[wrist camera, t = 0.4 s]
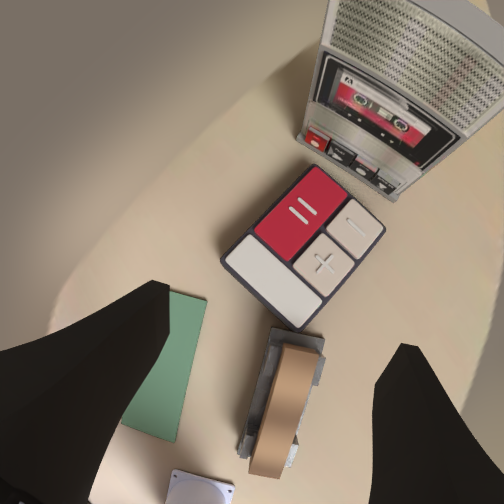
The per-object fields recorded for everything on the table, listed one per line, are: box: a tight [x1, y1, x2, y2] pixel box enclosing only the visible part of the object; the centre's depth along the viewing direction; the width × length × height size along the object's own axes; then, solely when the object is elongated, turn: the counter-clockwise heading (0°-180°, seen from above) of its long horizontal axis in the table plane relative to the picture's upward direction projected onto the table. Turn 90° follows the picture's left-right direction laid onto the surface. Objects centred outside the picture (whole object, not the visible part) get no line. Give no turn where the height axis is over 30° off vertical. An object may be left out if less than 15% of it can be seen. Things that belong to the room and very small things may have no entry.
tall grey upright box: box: [296, 0, 504, 203], centre depth 25 cm, size 14×6×25 cm, turn 57°
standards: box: [237, 327, 326, 467], centre depth 32 cm, size 16×6×4 cm, turn 166°
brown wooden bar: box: [249, 343, 319, 479], centre depth 29 cm, size 14×3×3 cm, turn 166°
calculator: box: [220, 164, 386, 333], centre depth 34 cm, size 11×4×15 cm
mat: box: [121, 291, 207, 443], centre depth 34 cm, size 18×7×1 cm, turn 166°
